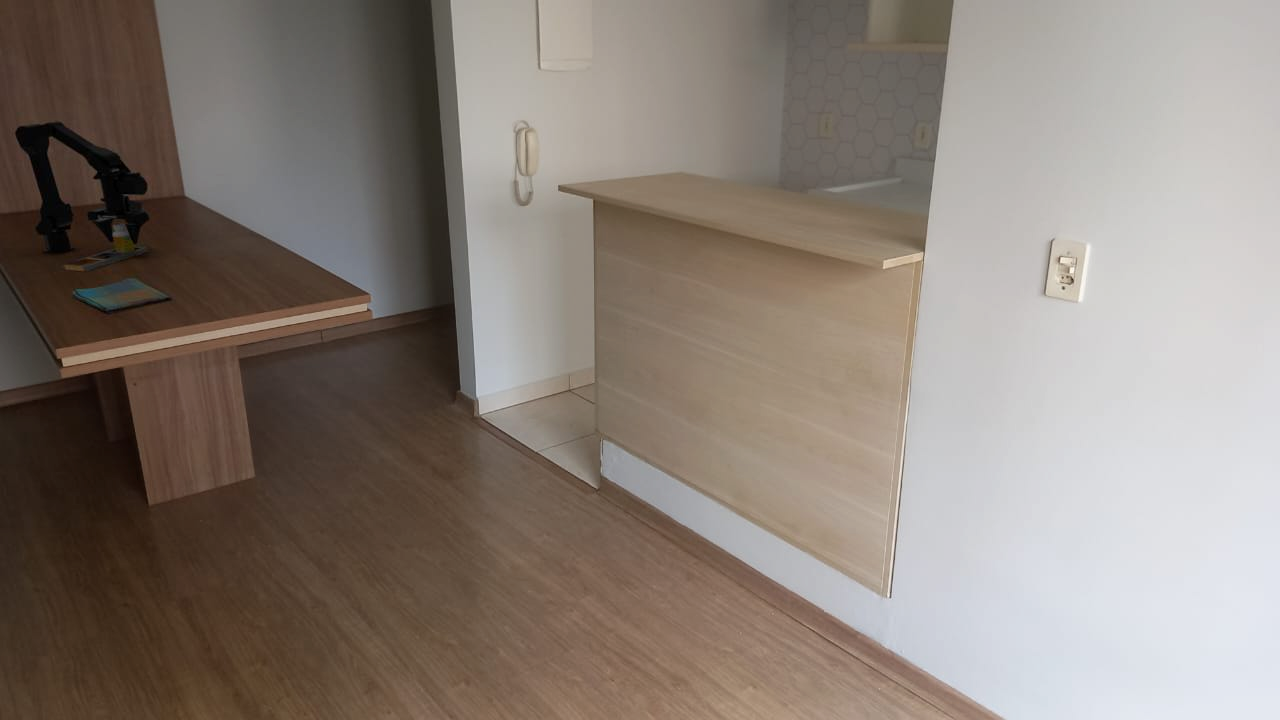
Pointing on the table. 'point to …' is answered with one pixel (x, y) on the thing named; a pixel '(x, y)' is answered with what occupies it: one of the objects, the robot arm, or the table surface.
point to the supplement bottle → (122, 239)
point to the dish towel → (121, 296)
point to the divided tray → (96, 260)
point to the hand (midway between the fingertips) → (123, 242)
